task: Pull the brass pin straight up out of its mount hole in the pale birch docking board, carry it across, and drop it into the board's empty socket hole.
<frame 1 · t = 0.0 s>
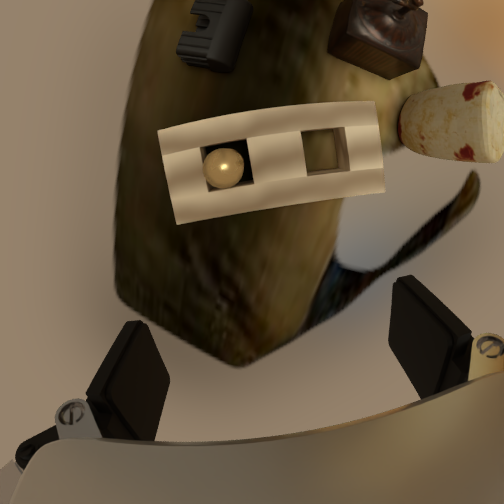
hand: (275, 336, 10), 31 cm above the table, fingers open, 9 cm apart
manual coffee grinder: (349, 32, 31), on the table
board: (273, 156, 38), on the table
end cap: (219, 42, 32), on the table
food model: (408, 124, 36), on the table
pin: (229, 163, 38), resting in board
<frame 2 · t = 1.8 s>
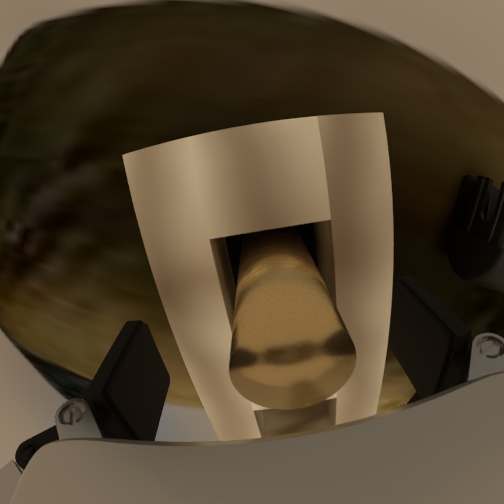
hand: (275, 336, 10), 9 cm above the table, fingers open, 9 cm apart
board: (283, 326, 21), on the table
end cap: (482, 231, 18), on the table
pin: (272, 249, 19), resting in board
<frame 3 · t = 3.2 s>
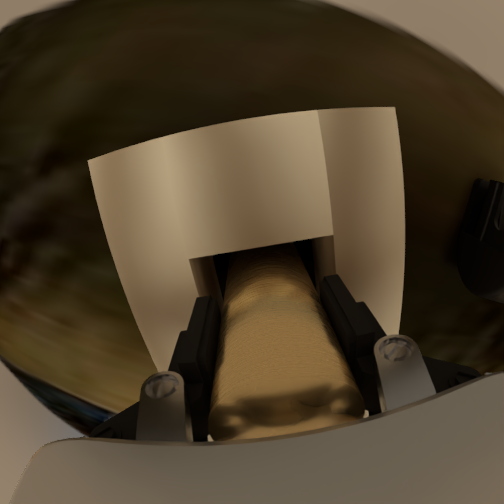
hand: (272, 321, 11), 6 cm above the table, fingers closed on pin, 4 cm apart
board: (278, 346, 19), on the table
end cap: (492, 238, 17), on the table
pin: (264, 264, 17), resting in board, touching gripper
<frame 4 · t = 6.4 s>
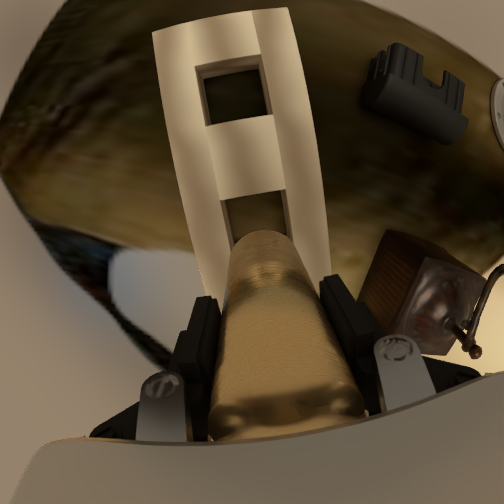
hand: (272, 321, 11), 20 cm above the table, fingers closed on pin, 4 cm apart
manual coffee grinder: (411, 258, 32), on the table
board: (246, 155, 28), on the table
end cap: (399, 100, 26), on the table
pin: (264, 263, 17), point 14 cm above the table, touching gripper
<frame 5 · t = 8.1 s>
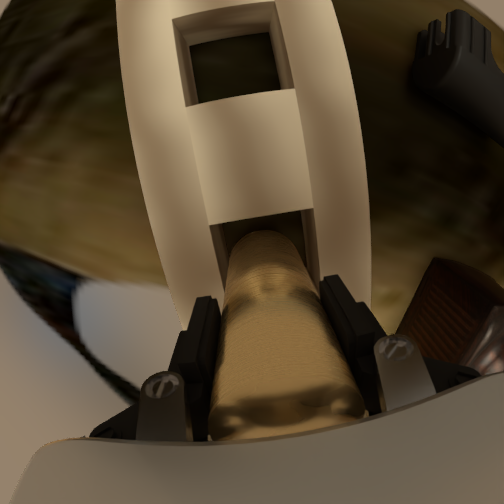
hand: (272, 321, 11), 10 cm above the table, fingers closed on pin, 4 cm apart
manual coffee grinder: (456, 290, 23), on the table
board: (250, 154, 19), on the table
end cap: (453, 87, 17), on the table
pin: (264, 264, 17), point 5 cm above the table, touching gripper
when the fingers open (7 cm above the table, at t = 9.5 s): pin drops 1 cm, resting in board.
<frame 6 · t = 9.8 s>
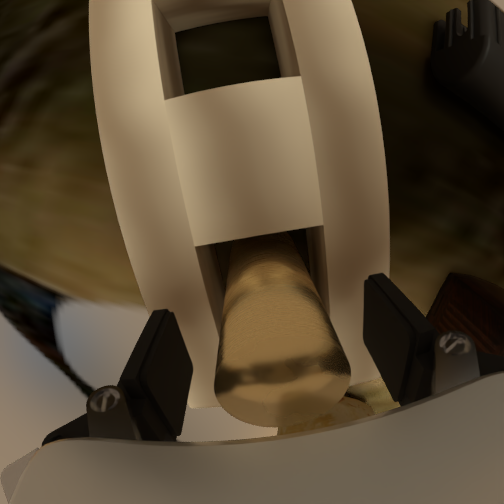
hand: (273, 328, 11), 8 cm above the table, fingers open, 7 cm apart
manual coffee grinder: (470, 306, 20), on the table
board: (245, 156, 16), on the table
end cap: (472, 84, 14), on the table
food model: (320, 405, 23), on the table
pin: (263, 254, 18), resting in board
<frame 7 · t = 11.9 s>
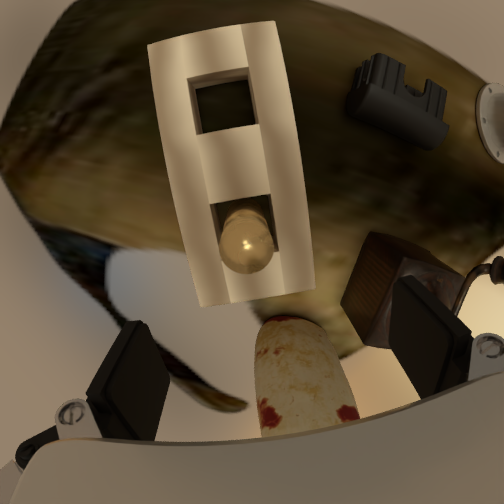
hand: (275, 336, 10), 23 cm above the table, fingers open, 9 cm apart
manual coffee grinder: (394, 259, 34), on the table
board: (235, 161, 30), on the table
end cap: (383, 107, 28), on the table
food model: (288, 328, 37), on the table
pin: (245, 216, 32), resting in board
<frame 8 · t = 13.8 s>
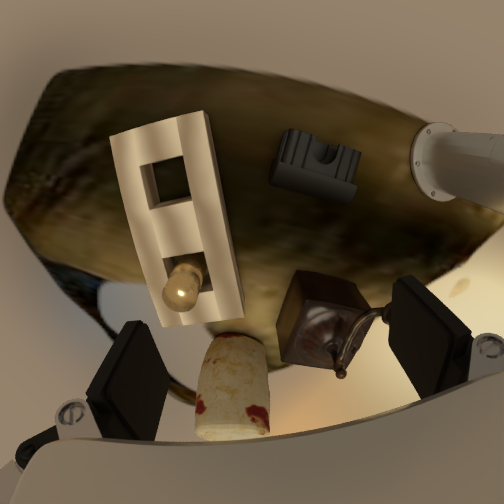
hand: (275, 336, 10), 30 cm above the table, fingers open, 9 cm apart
manual coffee grinder: (322, 290, 44), on the table
board: (184, 220, 40), on the table
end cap: (308, 165, 38), on the table
food model: (235, 342, 47), on the table
pin: (194, 260, 42), resting in board
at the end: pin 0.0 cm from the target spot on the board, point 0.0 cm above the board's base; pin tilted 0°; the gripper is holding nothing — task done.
